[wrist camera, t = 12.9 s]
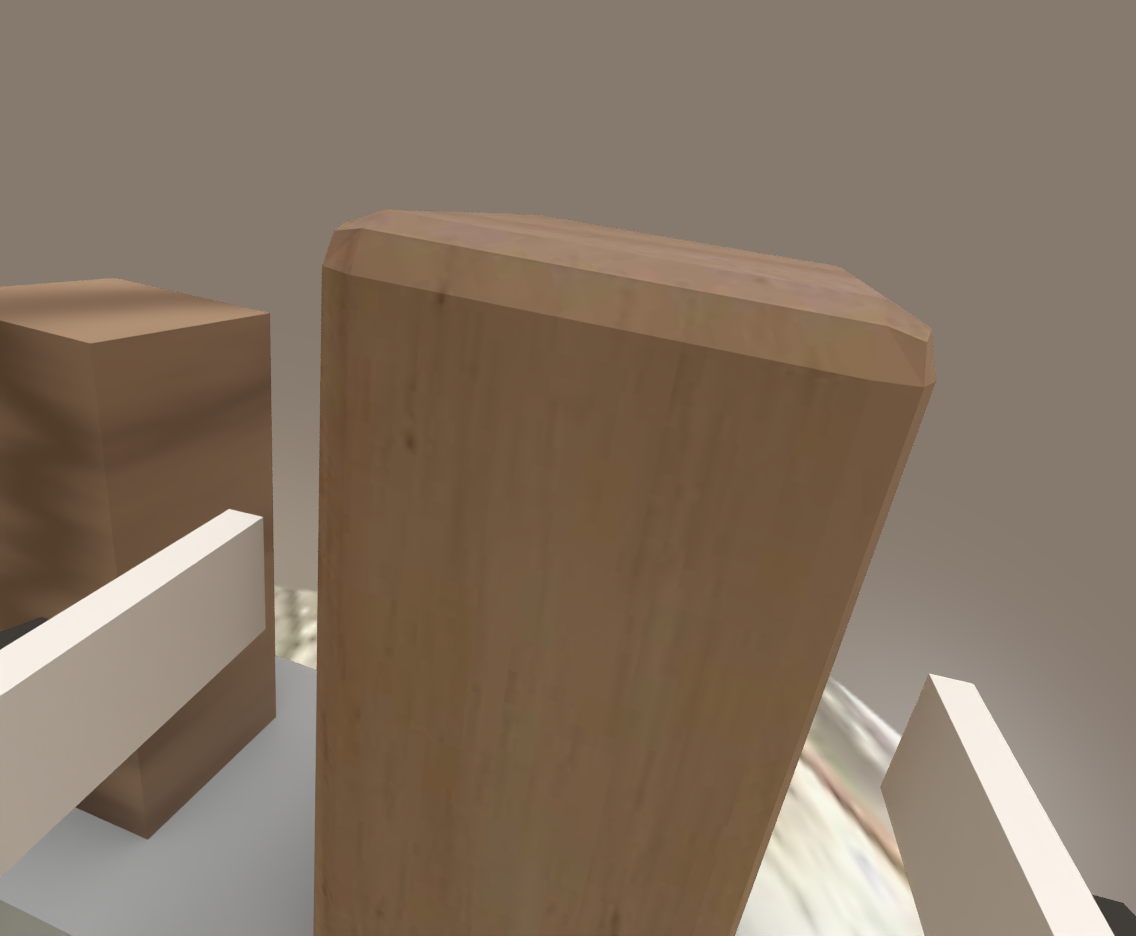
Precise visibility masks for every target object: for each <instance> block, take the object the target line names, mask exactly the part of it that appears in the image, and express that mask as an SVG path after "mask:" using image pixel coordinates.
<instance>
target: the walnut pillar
mask: <svg viewBox="0 0 1136 936" xmlns="http://www.w3.org/2000/svg"><path fill="white" fill-rule="evenodd" d="M271 428H272V421H271V358H270V313H267V312H263V311H258V310H254V309H249V308H245V307H240V306H236V305H231V304H227V303H223V302H218V301H214V300H210V299H205V298H201V297H196V296H192V295H187V294H183V293H179V292H174V291H170V290H165V289H161V288H157V287H152V286H148V285H143V284H139V283H135V282H130V281H126V280H121V279H117V278H109V279H96V280H82V281H70V282H57V283H44V284H32V285H20V286H6V287H0V632H1V631H3V630H6V629H9V628H12V627H14V626H17V625H20V624H23V623H26V622H28V621H31V620H34V619H37V618H39V617H44V618H48V619H51V618H53V617H54V616H56V615H58V614H59V613H61V612H63V611H64V610H66V609H67V608H69V607H71V606H72V605H74V604H76V603H77V602H79V601H80V600H82V599H84V598H85V597H87V596H89V595H90V594H92V593H93V592H95V591H97V590H98V589H100V588H102V587H103V586H105V585H106V584H108V583H110V582H111V581H113V580H115V579H116V578H118V577H119V576H121V575H123V574H124V573H126V572H128V571H129V570H131V569H132V568H134V567H136V566H137V565H139V564H141V563H142V562H144V561H145V560H147V559H149V558H150V557H152V556H154V555H155V554H157V553H158V552H160V551H162V550H163V549H165V548H167V547H168V546H170V545H171V544H173V543H175V542H176V541H178V540H180V539H181V538H183V537H184V536H186V535H188V534H189V533H191V532H193V531H194V530H196V529H197V528H199V527H201V526H202V525H204V524H206V523H207V522H209V521H210V520H212V519H214V518H215V517H217V516H219V515H220V514H222V513H223V512H225V511H227V510H228V509H231V510H236V511H240V512H244V513H248V514H253V515H257V516H261V517H263V532H264V577H265V622H266V629H265V630H264V631H263V632H262V633H261V634H260V635H258V636H257V637H256V638H255V639H254V640H253V641H252V642H251V643H250V644H249V645H248V646H247V647H246V648H245V649H244V650H242V651H241V652H240V653H239V654H238V655H237V656H236V657H235V658H234V659H233V660H232V661H231V662H230V663H229V664H228V665H226V666H225V667H224V668H223V669H222V670H221V671H220V672H219V673H218V674H217V675H216V676H215V677H214V678H213V679H211V680H210V681H209V682H208V683H207V684H206V685H205V686H204V687H203V688H202V689H201V690H200V691H199V692H198V693H197V694H195V695H194V696H193V697H192V698H191V699H190V700H189V701H188V702H187V703H186V704H185V705H184V706H183V707H182V708H180V709H179V710H178V711H177V712H176V713H175V714H174V715H173V716H172V717H171V718H170V719H169V720H168V721H167V722H166V723H164V724H163V725H162V726H161V727H160V728H159V729H158V730H157V731H156V732H155V733H154V734H153V735H152V736H151V737H150V738H148V739H147V740H146V741H145V742H144V743H143V744H142V745H141V746H140V747H139V748H138V749H137V750H136V751H135V752H133V753H132V754H131V755H130V756H129V757H128V758H127V759H126V760H125V761H124V762H123V763H122V764H121V765H120V766H119V767H117V768H116V769H115V770H114V771H113V772H112V773H111V774H110V775H109V776H108V777H107V778H106V779H105V780H104V781H103V782H101V783H100V784H99V785H98V786H97V787H96V788H95V789H94V790H93V791H92V792H91V793H90V794H89V795H88V796H86V797H85V798H84V799H83V800H82V801H81V802H80V803H79V804H78V805H77V806H76V808H78V809H80V810H82V811H85V812H87V813H89V814H91V815H93V816H96V817H98V818H100V819H102V820H105V821H107V822H109V823H111V824H114V825H116V826H118V827H120V828H123V829H125V830H127V831H129V832H131V833H134V834H136V835H138V836H140V837H143V838H145V839H147V840H148V839H149V838H150V837H151V836H153V835H154V834H155V833H156V832H157V831H158V830H159V829H160V828H161V827H162V826H163V825H164V824H165V823H166V822H167V821H168V820H169V819H170V818H171V817H172V816H173V815H174V814H175V813H177V812H178V811H179V810H180V809H181V808H182V807H183V806H184V805H185V804H186V803H187V802H188V801H189V800H190V799H191V798H192V797H193V796H194V795H195V794H196V793H197V792H198V791H199V790H200V789H202V788H203V787H204V786H205V785H206V784H207V783H208V782H209V781H210V780H211V779H212V778H213V777H214V776H215V775H216V774H217V773H218V772H219V771H220V770H221V769H222V768H223V767H224V766H226V765H227V764H228V763H229V762H230V761H231V760H232V759H233V758H234V757H235V756H236V755H237V754H238V753H239V752H240V751H241V750H242V749H243V748H244V747H245V746H246V745H247V744H248V743H250V742H251V741H252V740H253V739H254V738H255V737H256V736H257V735H258V734H259V733H260V732H261V731H262V730H263V729H264V728H265V727H266V726H267V725H268V724H269V723H270V722H271V721H272V720H273V719H275V718H276V678H275V613H274V549H273V487H272V486H273V485H272V429H271Z"/></svg>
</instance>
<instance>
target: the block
mask: <svg viewBox="0 0 1136 936" xmlns="http://www.w3.org/2000/svg"><path fill="white" fill-rule="evenodd" d="M321 308H322V309H321V312H322V313H321V382H320V459H319V460H320V461H319V538H318V615H317V692H316V770H315V847H314V925H313V936H735V934H736V931H737V928H738V925H739V923H740V920H741V917H742V914H743V912H744V909H745V906H746V903H747V901H748V898H749V895H750V892H751V890H752V887H753V884H754V881H755V879H756V876H757V873H758V870H759V868H760V865H761V862H762V859H763V857H764V854H765V851H766V848H767V846H768V843H769V840H770V837H771V835H772V832H773V829H774V826H775V824H776V821H777V818H778V815H779V813H780V810H781V807H782V804H783V801H784V799H785V796H786V793H787V790H788V788H789V785H790V782H791V779H792V777H793V774H794V771H795V768H796V766H797V763H798V760H799V757H800V755H801V752H802V749H803V746H804V744H805V741H806V738H807V735H808V733H809V730H810V727H811V724H812V722H813V719H814V716H815V713H816V711H817V708H818V705H819V702H820V700H821V697H822V694H823V691H824V689H825V686H826V683H827V680H828V678H829V675H830V672H831V669H832V667H833V664H834V661H835V658H836V656H837V653H838V650H839V647H840V644H841V642H842V639H843V636H844V633H845V631H846V628H847V625H848V622H849V620H850V617H851V614H852V611H853V609H854V606H855V603H856V600H857V598H858V595H859V592H860V589H861V586H862V583H863V581H864V578H865V576H866V573H867V570H868V567H869V564H870V562H871V559H872V556H873V553H874V551H875V548H876V545H877V542H878V540H879V537H880V534H881V532H882V529H883V526H884V523H885V521H886V518H887V515H888V512H889V510H890V507H891V504H892V501H893V498H894V496H895V493H896V490H897V487H898V485H899V482H900V479H901V476H902V474H903V471H904V468H905V465H906V463H907V460H908V457H909V454H910V451H911V449H912V446H913V443H914V441H915V438H916V435H917V432H918V430H919V427H920V424H921V421H922V419H923V416H924V413H925V410H926V407H927V405H928V402H929V399H930V397H931V394H932V391H933V388H934V385H935V383H936V373H935V361H934V350H933V338H932V329H931V328H930V327H928V326H927V325H925V324H924V323H922V322H921V321H920V320H918V319H917V318H915V317H914V316H912V315H910V314H909V313H907V312H906V311H905V310H903V309H902V308H900V307H899V306H897V305H896V304H894V303H893V302H891V301H890V300H888V299H887V298H886V297H884V296H883V295H881V294H880V293H878V292H877V291H875V290H874V289H872V288H871V287H869V286H868V285H866V284H865V283H863V282H862V281H860V280H859V279H857V278H856V277H854V276H853V275H851V274H850V273H848V272H847V271H845V270H843V269H842V268H841V267H839V266H833V265H827V264H821V263H816V262H810V261H804V260H798V259H792V258H786V257H780V256H775V255H769V254H763V253H757V252H751V251H745V250H740V249H734V248H727V247H722V246H716V245H710V244H705V243H699V242H693V241H687V240H681V239H675V238H669V237H664V236H657V235H652V234H646V233H640V232H635V231H628V230H623V229H617V228H611V227H605V226H599V225H594V224H588V223H582V222H576V221H570V220H564V219H559V218H553V217H547V216H541V215H527V214H500V213H498V214H497V213H470V212H441V211H413V210H412V211H411V210H382V211H379V212H376V213H373V214H369V215H366V216H363V217H360V218H356V219H353V220H349V221H347V222H345V223H344V224H343V225H341V226H340V227H339V228H337V229H336V230H334V233H333V236H332V238H331V241H330V244H329V247H328V250H327V253H326V256H325V259H324V262H323V264H322V305H321Z"/></svg>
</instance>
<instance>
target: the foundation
mask: <svg viewBox="0 0 1136 936" xmlns="http://www.w3.org/2000/svg"><path fill="white" fill-rule="evenodd" d="M275 678H276V718H275V719H273V720H272V721H271V722H270V723H269V724H268V725H267V726H266V727H265V728H264V729H263V730H262V731H261V732H260V733H259V734H258V735H257V736H256V737H255V738H254V739H253V740H252V741H251V742H250V743H248V744H247V745H246V746H245V747H244V748H243V749H242V750H241V751H240V752H239V753H238V754H237V755H236V756H235V757H234V758H233V759H232V760H231V761H230V762H229V763H228V764H227V765H226V766H224V767H223V768H222V769H221V770H220V771H219V772H218V773H217V774H216V775H215V776H214V777H213V778H212V779H211V780H210V781H209V782H208V783H207V784H206V785H205V786H204V787H203V788H202V789H200V790H199V791H198V792H197V793H196V794H195V795H194V796H193V797H192V798H191V799H190V800H189V801H188V802H187V803H186V804H185V805H184V806H183V807H182V808H181V809H180V810H179V811H178V812H177V813H175V814H174V815H173V816H172V817H171V818H170V819H169V820H168V821H167V822H166V823H165V824H164V825H163V826H162V827H161V828H160V829H159V830H158V831H157V832H156V833H155V834H154V835H153V836H151V837H150V838H149V839H148V840H147V839H145V838H143V837H140V836H138V835H136V834H134V833H131V832H129V831H127V830H125V829H123V828H120V827H118V826H116V825H114V824H111V823H109V822H107V821H105V820H102V819H100V818H98V817H96V816H93V815H91V814H89V813H87V812H85V811H82V810H80V809H78V808H76V807H75V808H74V809H73V810H72V811H70V812H69V813H68V814H67V815H66V816H65V817H64V818H63V819H62V820H61V821H60V822H59V823H58V824H57V825H56V826H54V827H53V828H52V829H51V830H50V831H49V832H48V833H47V834H46V835H45V836H44V837H43V838H42V839H41V840H39V841H38V842H37V843H36V844H35V845H34V846H33V847H32V848H31V849H30V850H29V851H28V852H27V853H26V854H25V855H23V856H22V857H21V858H20V859H19V860H18V861H17V862H16V863H15V864H14V865H13V866H12V867H11V868H10V869H9V870H7V871H6V872H5V873H4V874H3V875H2V876H1V877H0V936H313V925H314V847H315V770H316V692H317V670H315V669H312V668H309V667H306V666H304V665H301V664H298V663H295V662H292V661H290V660H287V659H284V658H281V657H278V656H276V655H275Z"/></svg>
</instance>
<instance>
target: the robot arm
mask: <svg viewBox="0 0 1136 936" xmlns="http://www.w3.org/2000/svg"><path fill="white" fill-rule="evenodd" d="M265 629H266V622H265V577H264V532H263V517H261V516H257V515H253V514H248V513H244V512H240V511H236V510H231V509H228V510H227V511H225V512H223V513H222V514H220V515H219V516H217V517H215V518H214V519H212V520H210V521H209V522H207V523H206V524H204V525H202V526H201V527H199V528H197V529H196V530H194V531H193V532H191V533H189V534H188V535H186V536H184V537H183V538H181V539H180V540H178V541H176V542H175V543H173V544H171V545H170V546H168V547H167V548H165V549H163V550H162V551H160V552H158V553H157V554H155V555H154V556H152V557H150V558H149V559H147V560H145V561H144V562H142V563H141V564H139V565H137V566H136V567H134V568H132V569H131V570H129V571H128V572H126V573H124V574H123V575H121V576H119V577H118V578H116V579H115V580H113V581H111V582H110V583H108V584H106V585H105V586H103V587H102V588H100V589H98V590H97V591H95V592H93V593H92V594H90V595H89V596H87V597H85V598H84V599H82V600H80V601H79V602H77V603H76V604H74V605H72V606H71V607H69V608H67V609H66V610H64V611H63V612H61V613H59V614H58V615H56V616H54V617H53V618H51V619H48V618H44V617H39V618H37V619H34V620H31V621H28V622H26V623H23V624H20V625H17V626H14V627H12V628H9V629H6V630H3V631H1V632H0V877H1V876H2V875H3V874H4V873H5V872H6V871H7V870H9V869H10V868H11V867H12V866H13V865H14V864H15V863H16V862H17V861H18V860H19V859H20V858H21V857H22V856H23V855H25V854H26V853H27V852H28V851H29V850H30V849H31V848H32V847H33V846H34V845H35V844H36V843H37V842H38V841H39V840H41V839H42V838H43V837H44V836H45V835H46V834H47V833H48V832H49V831H50V830H51V829H52V828H53V827H54V826H56V825H57V824H58V823H59V822H60V821H61V820H62V819H63V818H64V817H65V816H66V815H67V814H68V813H69V812H70V811H72V810H73V809H74V808H75V807H76V806H77V805H78V804H79V803H80V802H81V801H82V800H83V799H84V798H85V797H86V796H88V795H89V794H90V793H91V792H92V791H93V790H94V789H95V788H96V787H97V786H98V785H99V784H100V783H101V782H103V781H104V780H105V779H106V778H107V777H108V776H109V775H110V774H111V773H112V772H113V771H114V770H115V769H116V768H117V767H119V766H120V765H121V764H122V763H123V762H124V761H125V760H126V759H127V758H128V757H129V756H130V755H131V754H132V753H133V752H135V751H136V750H137V749H138V748H139V747H140V746H141V745H142V744H143V743H144V742H145V741H146V740H147V739H148V738H150V737H151V736H152V735H153V734H154V733H155V732H156V731H157V730H158V729H159V728H160V727H161V726H162V725H163V724H164V723H166V722H167V721H168V720H169V719H170V718H171V717H172V716H173V715H174V714H175V713H176V712H177V711H178V710H179V709H180V708H182V707H183V706H184V705H185V704H186V703H187V702H188V701H189V700H190V699H191V698H192V697H193V696H194V695H195V694H197V693H198V692H199V691H200V690H201V689H202V688H203V687H204V686H205V685H206V684H207V683H208V682H209V681H210V680H211V679H213V678H214V677H215V676H216V675H217V674H218V673H219V672H220V671H221V670H222V669H223V668H224V667H225V666H226V665H228V664H229V663H230V662H231V661H232V660H233V659H234V658H235V657H236V656H237V655H238V654H239V653H240V652H241V651H242V650H244V649H245V648H246V647H247V646H248V645H249V644H250V643H251V642H252V641H253V640H254V639H255V638H256V637H257V636H258V635H260V634H261V633H262V632H263V631H264V630H265ZM881 790H882V794H883V797H884V800H885V804H886V807H887V810H888V814H889V817H890V820H891V824H892V827H893V830H894V834H895V837H896V841H897V844H898V847H899V851H900V854H901V857H902V861H903V864H904V867H905V871H906V874H907V877H908V881H909V884H910V888H911V891H912V894H913V898H914V901H915V904H916V908H917V911H918V914H919V918H920V921H921V925H922V928H923V931H924V935H925V936H1136V916H1135V915H1134V914H1133V913H1132V912H1131V911H1130V910H1129V909H1128V908H1127V907H1126V906H1125V905H1124V903H1121V902H1117V901H1114V900H1110V899H1106V898H1102V897H1099V896H1094V895H1091V893H1090V891H1089V889H1088V888H1087V886H1086V884H1085V882H1084V881H1083V879H1082V877H1081V875H1080V873H1079V871H1078V870H1077V868H1076V866H1075V864H1074V862H1073V861H1072V859H1071V857H1070V855H1069V854H1068V852H1067V850H1066V848H1065V846H1064V845H1063V843H1062V841H1061V839H1060V838H1059V836H1058V834H1057V832H1056V831H1055V829H1054V827H1053V825H1052V823H1051V821H1050V820H1049V818H1048V816H1047V814H1046V813H1045V811H1044V809H1043V807H1042V805H1041V804H1040V802H1039V800H1038V798H1037V796H1036V795H1035V793H1034V791H1033V789H1032V788H1031V786H1030V784H1029V782H1028V780H1027V779H1026V777H1025V775H1024V773H1023V771H1022V770H1021V768H1020V766H1019V764H1018V763H1017V761H1016V759H1015V757H1014V755H1013V754H1012V752H1011V750H1010V748H1009V746H1008V745H1007V743H1006V741H1005V739H1004V738H1003V736H1002V734H1001V732H1000V730H999V729H998V727H997V725H996V723H995V722H994V720H993V718H992V716H991V715H990V713H989V711H988V709H987V707H986V706H985V704H984V702H983V700H982V698H981V697H980V695H979V693H978V691H977V689H976V688H975V686H974V684H971V683H967V682H962V681H959V680H954V679H950V678H946V677H942V676H937V675H933V674H929V675H928V677H927V680H926V682H925V684H924V687H923V689H922V691H921V694H920V696H919V699H918V701H917V703H916V705H915V708H914V710H913V713H912V715H911V717H910V719H909V722H908V724H907V726H906V729H905V731H904V734H903V736H902V738H901V740H900V743H899V745H898V747H897V750H896V752H895V754H894V757H893V759H892V761H891V764H890V766H889V768H888V771H887V773H886V775H885V778H884V780H883V782H882V785H881Z"/></svg>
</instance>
